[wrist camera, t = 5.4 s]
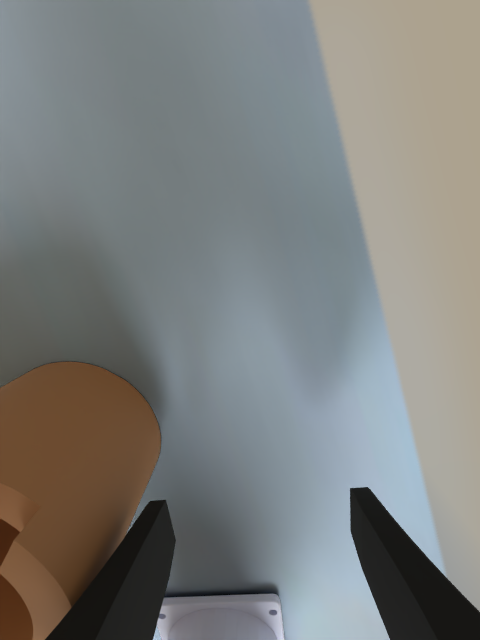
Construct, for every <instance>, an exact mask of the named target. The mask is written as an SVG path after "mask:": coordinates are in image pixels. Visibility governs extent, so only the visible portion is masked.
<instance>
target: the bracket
mask: <svg viewBox="0 0 480 640" xmlns="http://www.w3.org/2000/svg"><path fill="white" fill-rule="evenodd" d="M160 449H161V435H160V429H159V425H158V422H157V419H156V417H155V415H154V412H153V410H152V409H151V407H150V405H149V404H148V403H147V401H146V400H145V399H144V397H143V396H142V395H141V394H140V393H139V392H138V391H137V390H136V389H135V388H134V387H133V386H132V385H131V384H129V383H128V382H127V381H125V380H124V379H122V378H121V377H119V376H117V375H115V374H113V373H111V372H109V371H107V370H106V369H103V368H100V367H98V366H94V365H90V364H86V363H80V362H56V363H50V364H46V365H42V366H40V367H37V368H35V369H33V370H31V371H29V372H28V373H26V374H24V375H22V376H20V377H19V378H17V379H15V380H13V381H11V382H10V383H8V384H6V385H4V386H2V387H1V388H0V640H45V639H46V638H47V636H48V635H49V634H50V633H51V632H52V631H53V629H54V628H55V627H56V626H57V625H58V623H59V622H60V621H61V620H62V619H63V617H64V616H65V615H66V614H67V613H68V611H69V610H70V609H71V608H72V606H73V605H74V604H75V603H76V601H77V600H78V599H79V598H80V596H81V595H82V594H83V592H84V591H85V590H86V589H87V587H88V586H89V585H90V583H91V582H92V581H93V580H94V578H95V577H96V576H97V574H98V573H99V572H100V570H101V569H102V568H103V566H104V565H105V564H106V562H107V561H108V560H109V558H110V557H111V555H112V554H113V553H114V551H115V550H116V549H117V547H118V546H119V544H120V543H121V542H122V540H123V539H124V537H125V535H126V533H127V530H128V528H129V526H130V523H131V521H132V519H133V516H134V514H135V512H136V509H137V507H138V505H139V503H140V500H141V498H142V496H143V493H144V491H145V489H146V486H147V484H148V482H149V479H150V477H151V475H152V472H153V470H154V468H155V465H156V463H157V461H158V458H159V454H160Z"/></svg>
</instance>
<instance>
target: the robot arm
mask: <svg viewBox="0 0 480 640" xmlns="http://www.w3.org/2000/svg"><path fill="white" fill-rule="evenodd" d="M350 513H351V534H352V537H353V540H354V544H355V547H356V550H357V554H358V557H359V560H360V563H361V567H362V569H363V572H364V575H365V577H366V580H367V582H368V585H369V587H370V590H371V593H372V595H373V598H374V600H375V603H376V605H377V608H378V610H379V613H380V615H381V618H382V620H383V623H384V625H385V628H386V630H387V633H388V635H389V638H390V640H480V612H479V611H478V610H477V609H476V608H475V607H474V606H473V605H472V604H471V603H470V602H469V601H468V600H467V599H466V598H465V597H464V596H463V595H462V594H461V592H460V591H458V589H457V588H456V587H455V586H454V585H453V584H452V583H451V582H450V581H449V580H448V579H447V578H446V577H445V576H444V575H443V574H442V573H441V572H440V570H439V569H438V568H437V567H436V566H435V565H434V564H433V563H432V562H431V561H430V560H429V558H428V557H427V556H426V555H425V554H424V553H423V552H422V551H421V549H420V548H419V547H418V546H417V545H416V544H415V543H414V542H413V541H412V539H411V538H410V537H409V536H408V535H407V534H406V533H405V531H404V530H403V529H402V528H401V527H400V525H399V524H398V523H397V522H396V521H395V520H394V518H393V517H392V516H391V515H390V513H389V512H388V511H387V510H386V509H385V507H384V506H383V505H382V504H381V502H380V501H379V500H378V499H377V497H376V496H375V495H374V494H373V492H372V491H371V490H370V489H369V488H368V487H363V488H350ZM175 541H176V540H175V535H174V531H173V527H172V523H171V519H170V515H169V511H168V507H167V503H166V500H157V501H150V502H149V503H148V504H147V506H146V507H145V509H144V510H143V511H142V513H141V514H140V516H139V517H138V519H137V520H136V522H135V523H134V524H133V526H132V527H131V529H130V530H129V532H128V533H127V535H126V536H125V537H124V539H123V540H122V542H121V543H120V544H119V546H118V547H117V549H116V550H115V551H114V553H113V554H112V555H111V557H110V558H109V560H108V561H107V562H106V564H105V565H104V566H103V568H102V569H101V570H100V572H99V573H98V574H97V576H96V577H95V578H94V580H93V581H92V582H91V583H90V585H89V586H88V587H87V589H86V590H85V591H84V592H83V594H82V595H81V596H80V598H79V599H78V600H77V601H76V603H75V604H74V605H73V606H72V608H71V609H70V610H69V611H68V613H67V614H66V615H65V616H64V617H63V619H62V620H61V621H60V622H59V623H58V625H57V626H56V627H55V628H54V629H53V631H52V632H51V633H50V634H49V635H48V636H47V638H46V639H45V640H153V636H154V633H155V629H156V625H157V626H158V630H159V633H160V636H161V640H285V639H284V630H283V621H282V612H281V603H280V598H279V597H278V596H277V595H276V594H247V595H220V596H194V597H168V598H164V595H165V591H166V588H167V584H168V580H169V576H170V570H171V565H172V559H173V553H174V547H175Z"/></svg>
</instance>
